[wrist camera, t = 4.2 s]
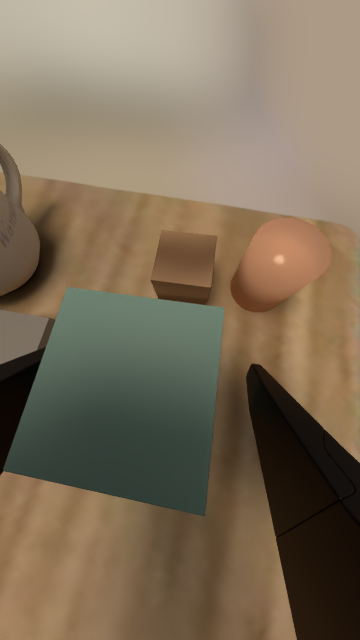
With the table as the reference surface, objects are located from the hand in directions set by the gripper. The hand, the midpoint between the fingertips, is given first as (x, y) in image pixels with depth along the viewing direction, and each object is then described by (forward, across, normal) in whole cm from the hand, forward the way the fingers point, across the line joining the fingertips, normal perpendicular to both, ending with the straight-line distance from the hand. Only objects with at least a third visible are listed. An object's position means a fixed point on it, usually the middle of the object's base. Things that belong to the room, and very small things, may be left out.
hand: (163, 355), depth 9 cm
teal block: (+4, 0, +5) cm, 7 cm away
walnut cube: (+10, 0, -1) cm, 10 cm away
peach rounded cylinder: (+10, -7, -1) cm, 13 cm away
